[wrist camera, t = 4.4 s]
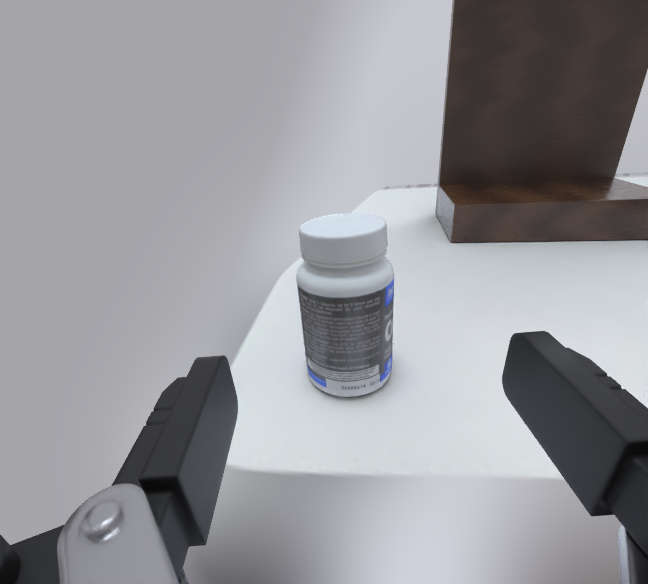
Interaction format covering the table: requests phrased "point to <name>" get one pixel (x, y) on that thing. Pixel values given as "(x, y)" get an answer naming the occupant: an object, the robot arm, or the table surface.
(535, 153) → the shelf
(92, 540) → the robot arm
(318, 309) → the pill bottle
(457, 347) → the table surface
